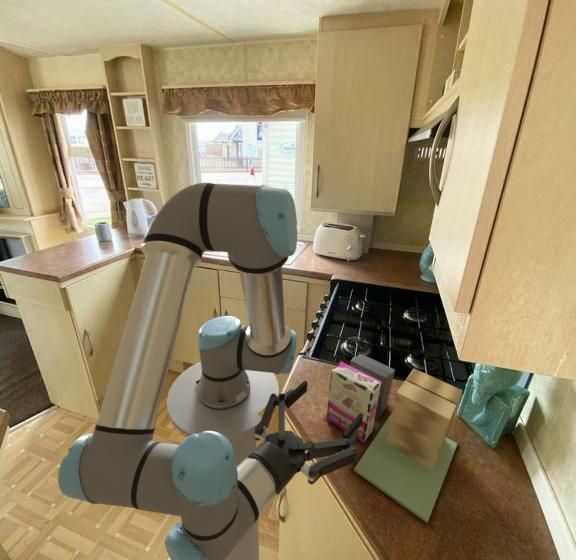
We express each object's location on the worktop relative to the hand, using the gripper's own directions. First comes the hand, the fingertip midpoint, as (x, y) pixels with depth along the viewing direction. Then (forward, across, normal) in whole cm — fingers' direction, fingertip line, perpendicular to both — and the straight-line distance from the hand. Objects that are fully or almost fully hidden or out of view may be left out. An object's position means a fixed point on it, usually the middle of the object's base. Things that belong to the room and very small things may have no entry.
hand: (331, 401), depth 66 cm
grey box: (+20, 0, -17) cm, 26 cm away
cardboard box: (+17, +15, -16) cm, 28 cm away
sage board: (+12, +15, -17) cm, 25 cm away
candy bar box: (+11, 0, -17) cm, 20 cm away
